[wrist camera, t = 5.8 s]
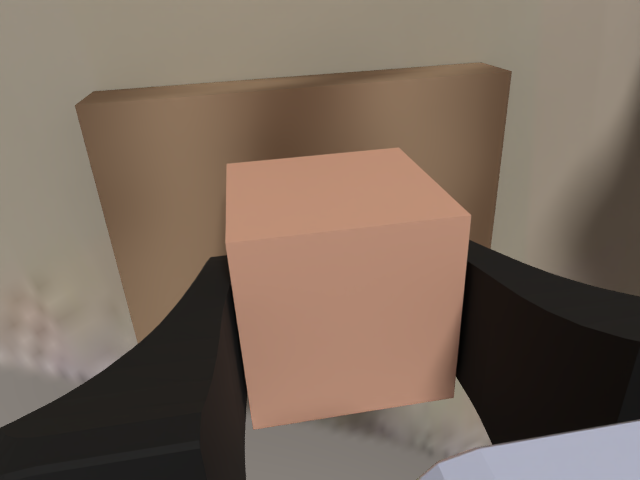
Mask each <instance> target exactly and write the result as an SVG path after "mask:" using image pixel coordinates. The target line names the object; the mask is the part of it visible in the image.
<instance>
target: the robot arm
mask: <svg viewBox="0 0 640 480" xmlns="http://www.w3.org/2000/svg"><path fill="white" fill-rule="evenodd" d="M456 377H457V379H458V380H459V382H460V384H461V385H462V387H463V389H464V390H465V392H466V394H467V395H468V397H469V398H470V400H471V402H472V404H473V406H474V407H475V409H476V411H477V413H478V415H479V417H480V419H481V421H482V423H483V425H484V427H485V429H486V432H487V434H488V436H489V438H490V440H491V442H492V445H489V446H483V447H477V448H473V449H470V450H468V451H465V452H462V453H459V454H457V455H454V456H451V457H448V458H445V459H443V460H440V461H438V462H437V463H435V464H434V465H433V466H432V467H431V468H430V469H428V470H427V471H426V472H425V473H424V474H422V475H421V476H420V477H419V478H418V479H417V480H640V297H638V296H634V295H629V294H624V293H620V292H615V291H611V290H606V289H602V288H598V287H594V286H591V285H587V284H584V283H580V282H577V281H574V280H570V279H567V278H563V277H560V276H557V275H554V274H551V273H548V272H546V271H543V270H540V269H538V268H535V267H532V266H530V265H527V264H524V263H522V262H520V261H517V260H515V259H512V258H510V257H508V256H505V255H503V254H501V253H498V252H496V251H494V250H491V249H489V248H487V247H485V246H483V245H480V244H478V243H476V242H474V241H471V240H469V244H468V255H467V265H466V275H465V285H464V296H463V306H462V316H461V327H460V337H459V347H458V357H457V368H456ZM246 401H247V385H246V378H245V371H244V365H243V358H242V351H241V345H240V338H239V331H238V325H237V318H236V311H235V305H234V298H233V291H232V284H231V278H230V271H229V264H228V258H227V255H224V256H215V257H210V258H209V259H208V261H207V262H206V263H205V265H204V266H203V268H202V270H201V271H200V273H199V274H198V276H197V277H196V279H195V280H194V282H193V283H192V284H191V286H190V287H189V288H188V290H187V291H186V292H185V294H184V295H183V296H182V298H181V299H180V300H179V302H178V303H177V304H176V305H175V307H174V308H173V309H172V310H171V311H170V312H169V313H168V315H167V316H166V317H165V318H164V319H163V320H162V322H161V323H160V324H159V325H158V326H157V327H156V328H155V329H154V330H153V331H152V332H151V333H149V334H148V335H147V336H146V337H145V338H144V339H143V340H142V341H141V342H140V343H138V344H137V345H136V346H135V347H134V348H132V349H131V350H130V351H129V352H127V353H126V354H125V355H123V356H122V357H121V358H119V359H118V360H117V361H115V362H114V363H113V364H111V365H110V366H109V367H107V368H106V369H105V370H103V371H102V372H100V373H99V374H97V375H96V376H94V377H93V378H91V379H90V380H88V381H87V382H85V383H84V384H82V385H80V386H79V387H77V388H75V389H74V390H72V391H70V392H69V393H67V394H65V395H64V396H62V397H60V398H58V399H57V400H55V401H53V402H51V403H49V404H47V405H45V406H43V407H41V408H39V409H37V410H35V411H33V412H31V413H30V414H27V415H25V416H23V417H22V418H20V419H18V420H16V421H14V422H12V423H9V424H7V425H5V426H3V427H1V428H0V480H246V473H245V421H246Z"/></svg>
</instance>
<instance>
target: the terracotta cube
mask: <svg viewBox="0 0 640 480" xmlns="http://www.w3.org/2000/svg"><path fill="white" fill-rule="evenodd" d="M470 224H471V214H469V213H468V212H467V211H466V210H465V209H464V208H463V207H462V206H461V205H460V204H459V203H458V202H457V201H456V200H454V199H453V198H452V197H451V196H450V195H449V194H448V193H447V192H446V191H445V190H444V189H443V188H442V187H441V186H439V185H438V184H437V183H436V182H435V181H434V180H433V179H432V178H431V177H430V176H429V175H428V174H427V173H426V172H424V171H423V170H422V169H421V168H420V167H419V166H418V165H417V164H416V163H415V162H414V161H413V160H412V159H411V158H409V157H408V156H407V155H406V154H405V153H404V152H403V151H402V150H401V149H400V148H399V147H398V148H388V149H377V150H367V151H356V152H346V153H335V154H325V155H314V156H304V157H293V158H283V159H272V160H262V161H251V162H241V163H230V164H227V166H226V233H225V244H226V251H227V258H228V264H229V271H230V278H231V284H232V291H233V298H234V305H235V311H236V318H237V325H238V331H239V338H240V345H241V351H242V358H243V365H244V371H245V378H246V385H247V391H248V398H249V405H250V411H251V418H252V424H253V429H254V430H255V429H260V428H266V427H273V426H280V425H286V424H292V423H298V422H305V421H311V420H317V419H323V418H330V417H336V416H342V415H348V414H355V413H361V412H367V411H373V410H380V409H386V408H392V407H399V406H405V405H411V404H417V403H424V402H430V401H436V400H442V399H449V398H454V388H455V378H456V368H457V357H458V347H459V337H460V327H461V316H462V306H463V296H464V285H465V275H466V265H467V255H468V244H469V234H470Z"/></svg>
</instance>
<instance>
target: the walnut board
mask: <svg viewBox="0 0 640 480" xmlns="http://www.w3.org/2000/svg"><path fill="white" fill-rule="evenodd" d="M511 73H512V71H508V70H505V69H502V68H498V67H495V66H491V65H488V64H484V63H468V64H454V65H441V66H428V67H414V68H401V69H388V70H374V71H361V72H348V73H334V74H321V75H308V76H294V77H281V78H268V79H254V80H241V81H228V82H214V83H201V84H188V85H174V86H161V87H148V88H134V89H121V90H108V91H94V92H92V93H91V94H90V95H88V96H87V97H86V98H84V99H83V100H82V101H80V102H79V103H77V104H76V105H75V108H76V111H77V115H78V119H79V123H80V127H81V130H82V134H83V138H84V142H85V145H86V149H87V153H88V157H89V160H90V164H91V168H92V172H93V176H94V179H95V183H96V187H97V191H98V194H99V198H100V202H101V206H102V210H103V213H104V217H105V221H106V225H107V228H108V232H109V236H110V240H111V244H112V247H113V251H114V255H115V259H116V262H117V266H118V270H119V274H120V278H121V281H122V285H123V289H124V293H125V296H126V300H127V304H128V308H129V311H130V315H131V319H132V323H133V327H134V330H135V334H136V338H137V342H138V343H140V342H141V341H142V340H143V339H144V338H145V337H146V336H147V335H148V334H149V333H151V332H152V331H153V330H154V329H155V328H156V327H157V326H158V325H159V324H160V323H161V322H162V320H163V319H164V318H165V317H166V316H167V315H168V313H169V312H170V311H171V310H172V309H173V308H174V307H175V305H176V304H177V303H178V302H179V300H180V299H181V298H182V296H183V295H184V294H185V292H186V291H187V290H188V288H189V287H190V286H191V284H192V283H193V282H194V280H195V279H196V277H197V276H198V274H199V273H200V271H201V270H202V268H203V266H204V265H205V263H206V262H207V261H208V259H209V258H210V257H215V256H224V255H227V251H226V244H225V233H226V166H227V164H230V163H241V162H251V161H262V160H272V159H283V158H293V157H304V156H314V155H325V154H335V153H346V152H356V151H367V150H377V149H388V148H398V147H399V148H400V149H401V150H402V151H403V152H404V153H405V154H406V155H407V156H408V157H409V158H411V159H412V160H413V161H414V162H415V163H416V164H417V165H418V166H419V167H420V168H421V169H422V170H423V171H424V172H426V173H427V174H428V175H429V176H430V177H431V178H432V179H433V180H434V181H435V182H436V183H437V184H438V185H439V186H441V187H442V188H443V189H444V190H445V191H446V192H447V193H448V194H449V195H450V196H451V197H452V198H453V199H454V200H456V201H457V202H458V203H459V204H460V205H461V206H462V207H463V208H464V209H465V210H466V211H467V212H468V213H469V214H471V224H470V234H469V240H471V241H474V242H476V243H478V244H480V245H483V246H485V247H487V248H489V249H490V248H491V240H492V231H493V223H494V215H495V206H496V198H497V190H498V181H499V173H500V164H501V156H502V148H503V139H504V131H505V123H506V114H507V106H508V98H509V89H510V81H511Z"/></svg>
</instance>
